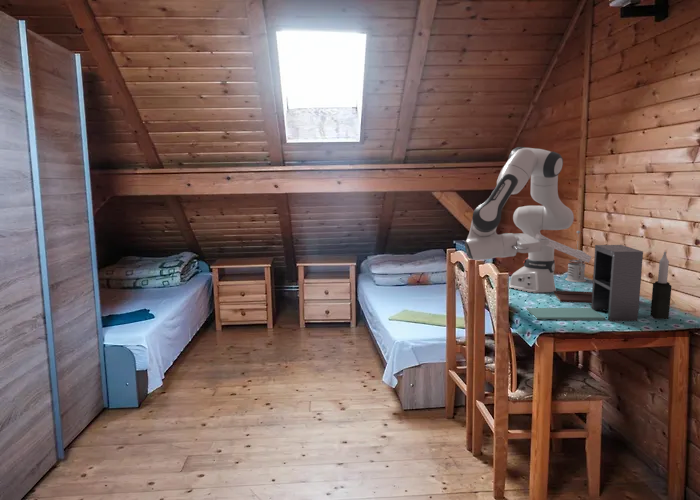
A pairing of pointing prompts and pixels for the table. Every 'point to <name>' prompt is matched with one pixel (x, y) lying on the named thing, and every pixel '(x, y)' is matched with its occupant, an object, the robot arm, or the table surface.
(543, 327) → the table surface
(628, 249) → the rack
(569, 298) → the notebook
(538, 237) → the aluminium strip
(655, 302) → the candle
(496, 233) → the robot arm
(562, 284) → the table surface
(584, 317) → the mat
